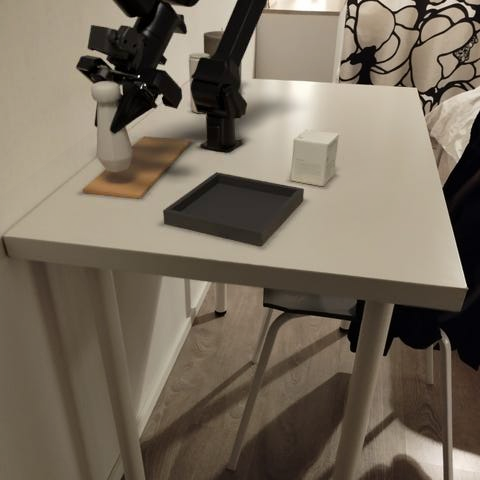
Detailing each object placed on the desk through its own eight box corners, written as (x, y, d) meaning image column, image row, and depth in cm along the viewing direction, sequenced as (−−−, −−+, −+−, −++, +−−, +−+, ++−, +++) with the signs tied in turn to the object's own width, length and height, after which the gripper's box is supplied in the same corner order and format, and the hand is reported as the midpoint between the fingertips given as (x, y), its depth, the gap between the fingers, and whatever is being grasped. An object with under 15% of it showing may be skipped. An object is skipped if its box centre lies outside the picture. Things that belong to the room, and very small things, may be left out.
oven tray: (216, 184, 88) (216, 172, 87) (303, 201, 83) (304, 188, 81) (164, 223, 76) (162, 210, 75) (261, 246, 71) (261, 232, 69)
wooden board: (144, 139, 107) (143, 136, 106) (190, 142, 105) (190, 139, 105) (82, 192, 85) (82, 189, 84) (140, 198, 83) (140, 195, 83)
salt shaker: (91, 169, 84) (76, 84, 76) (114, 158, 88) (102, 76, 80) (119, 176, 82) (106, 89, 74) (141, 165, 86) (132, 81, 78)
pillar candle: (197, 93, 136) (194, 28, 127) (220, 86, 142) (219, 23, 133) (227, 99, 131) (226, 32, 122) (249, 91, 138) (250, 27, 129)
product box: (323, 187, 87) (328, 143, 83) (289, 181, 89) (292, 138, 85) (334, 175, 91) (339, 133, 87) (302, 169, 94) (305, 128, 89)
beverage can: (209, 114, 121) (207, 57, 113) (189, 113, 121) (186, 56, 114) (213, 108, 124) (212, 53, 117) (193, 107, 125) (191, 52, 118)
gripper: (74, -4, 78) (28, 88, 78) (161, 5, 69) (109, 110, 69) (121, 46, 88) (80, 128, 88) (203, 60, 78) (158, 152, 78)
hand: (104, 129), depth 80 cm, fingers closed on salt shaker, 3 cm apart
